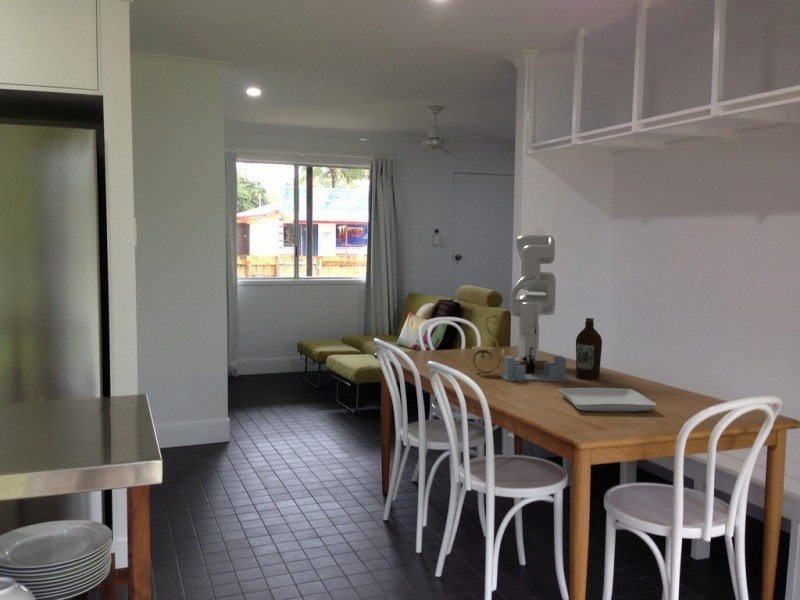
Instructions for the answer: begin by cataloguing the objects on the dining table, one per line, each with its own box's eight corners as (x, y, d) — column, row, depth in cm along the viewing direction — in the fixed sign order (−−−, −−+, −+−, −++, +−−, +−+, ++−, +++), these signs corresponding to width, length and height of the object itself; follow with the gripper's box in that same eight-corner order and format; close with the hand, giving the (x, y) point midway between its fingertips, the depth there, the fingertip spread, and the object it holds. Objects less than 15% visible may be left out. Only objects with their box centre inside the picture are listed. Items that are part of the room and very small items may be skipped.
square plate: (630, 397, 260) (631, 387, 260) (657, 415, 233) (658, 404, 232) (557, 396, 260) (557, 386, 260) (575, 414, 233) (575, 403, 232)
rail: (508, 374, 303) (509, 360, 303) (543, 373, 307) (543, 359, 307) (512, 375, 300) (512, 361, 299) (547, 374, 303) (547, 360, 303)
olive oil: (579, 374, 303) (581, 316, 301) (604, 377, 297) (606, 318, 295) (570, 378, 294) (572, 318, 292) (596, 381, 288) (598, 320, 286)
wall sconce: (501, 370, 310) (502, 313, 308) (505, 374, 301) (506, 316, 299) (469, 370, 310) (471, 313, 308) (472, 374, 300) (474, 315, 298)
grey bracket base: (500, 376, 297) (501, 355, 296) (561, 376, 298) (562, 355, 297) (505, 381, 287) (506, 359, 286) (568, 381, 288) (569, 359, 287)
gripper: (515, 328, 310) (514, 367, 311) (525, 333, 293) (524, 374, 294) (532, 328, 311) (531, 367, 312) (543, 333, 293) (541, 374, 295)
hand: (528, 370), depth 303 cm, fingers open, 8 cm apart
